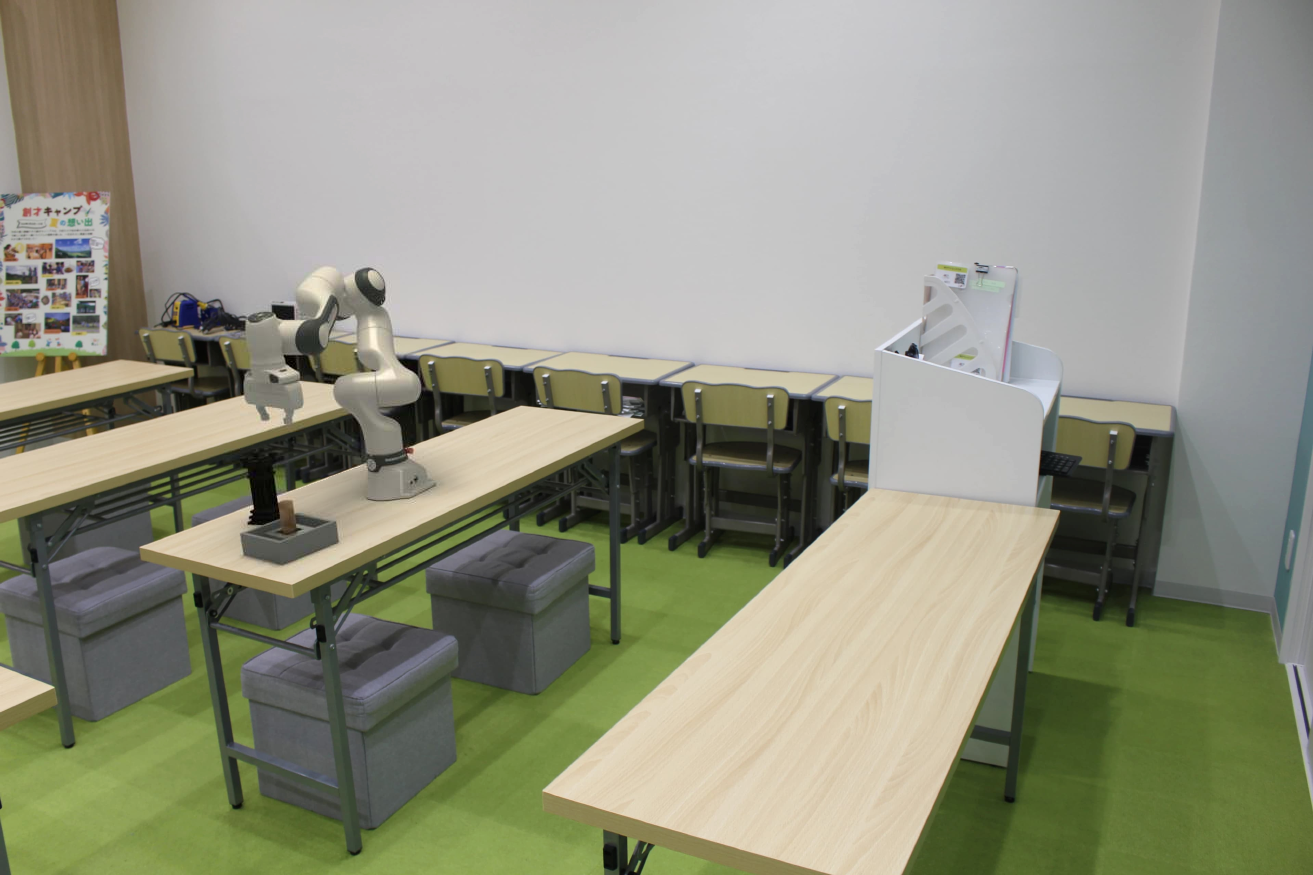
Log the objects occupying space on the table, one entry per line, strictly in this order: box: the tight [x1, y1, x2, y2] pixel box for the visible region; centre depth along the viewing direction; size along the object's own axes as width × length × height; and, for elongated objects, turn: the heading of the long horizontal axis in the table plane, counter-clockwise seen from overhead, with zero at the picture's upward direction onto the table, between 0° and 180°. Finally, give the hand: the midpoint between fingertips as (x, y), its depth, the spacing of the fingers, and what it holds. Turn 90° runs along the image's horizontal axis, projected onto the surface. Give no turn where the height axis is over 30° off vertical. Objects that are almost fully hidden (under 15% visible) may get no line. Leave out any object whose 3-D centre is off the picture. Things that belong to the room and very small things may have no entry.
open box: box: [239, 512, 340, 566], centre depth 250 cm, size 18×16×6 cm
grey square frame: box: [264, 524, 313, 541], centre depth 250 cm, size 9×9×4 cm
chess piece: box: [238, 450, 280, 526], centre depth 272 cm, size 8×8×20 cm
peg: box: [278, 499, 297, 535], centre depth 249 cm, size 4×4×12 cm
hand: (276, 422), depth 258 cm, fingers open, 8 cm apart
